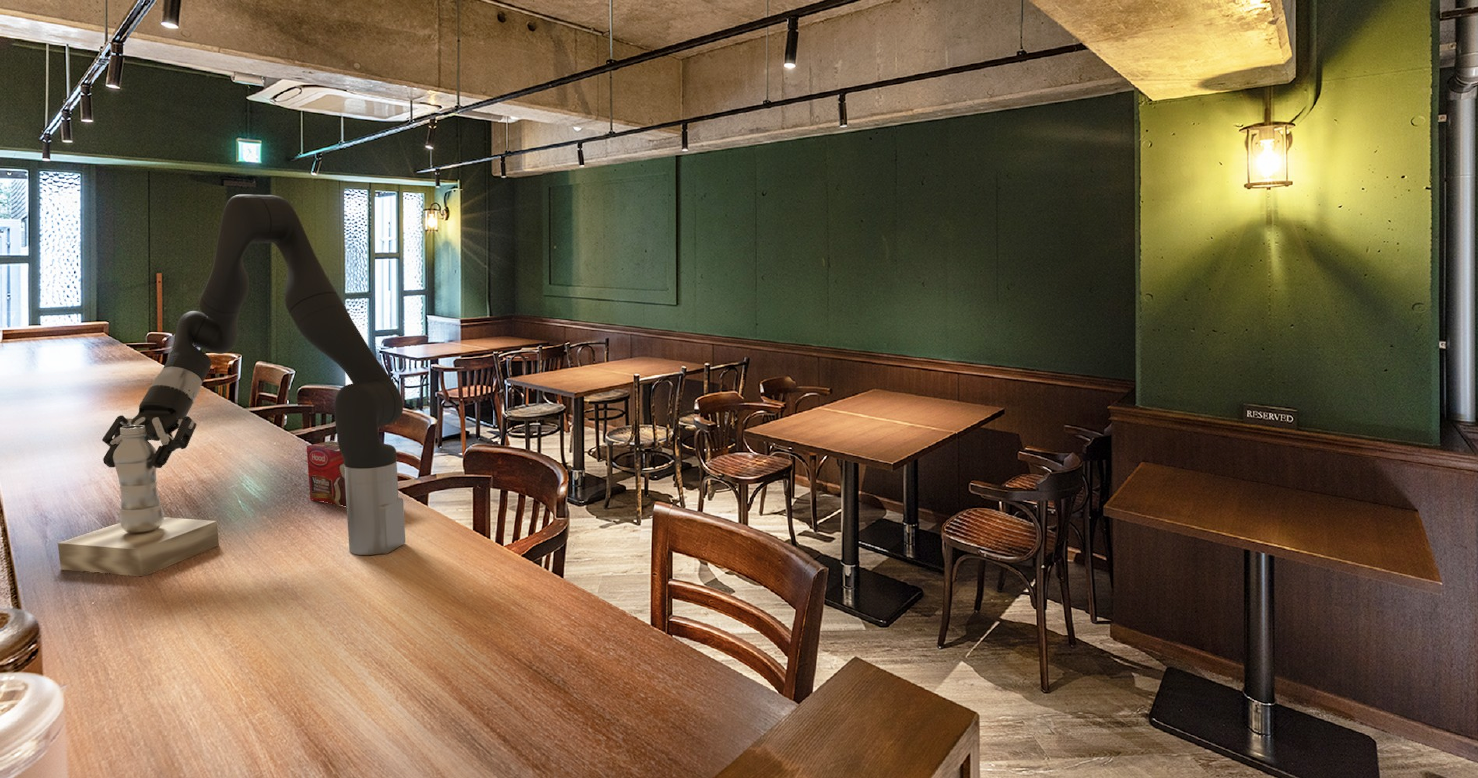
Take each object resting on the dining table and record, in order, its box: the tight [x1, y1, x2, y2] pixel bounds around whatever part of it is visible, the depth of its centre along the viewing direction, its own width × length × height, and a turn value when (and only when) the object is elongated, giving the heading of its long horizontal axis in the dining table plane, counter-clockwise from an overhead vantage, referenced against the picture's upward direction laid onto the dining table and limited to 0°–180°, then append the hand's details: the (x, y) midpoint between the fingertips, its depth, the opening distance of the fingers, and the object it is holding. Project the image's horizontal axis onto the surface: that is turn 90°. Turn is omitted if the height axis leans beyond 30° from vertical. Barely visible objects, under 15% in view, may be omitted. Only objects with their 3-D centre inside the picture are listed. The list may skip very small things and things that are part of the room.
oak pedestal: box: [57, 516, 220, 578], centre depth 139 cm, size 17×16×5 cm
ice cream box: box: [306, 440, 347, 508], centre depth 174 cm, size 20×6×13 cm, turn 65°
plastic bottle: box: [113, 425, 165, 533], centre depth 137 cm, size 6×7×20 cm
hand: (132, 465), depth 136 cm, fingers open, 8 cm apart
